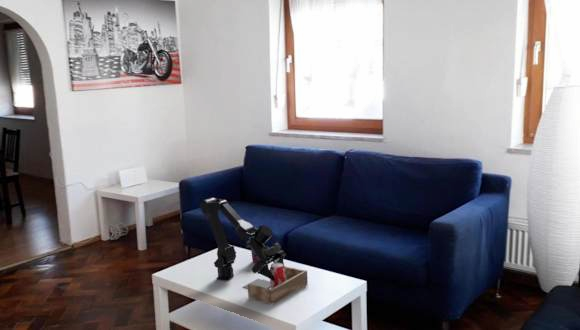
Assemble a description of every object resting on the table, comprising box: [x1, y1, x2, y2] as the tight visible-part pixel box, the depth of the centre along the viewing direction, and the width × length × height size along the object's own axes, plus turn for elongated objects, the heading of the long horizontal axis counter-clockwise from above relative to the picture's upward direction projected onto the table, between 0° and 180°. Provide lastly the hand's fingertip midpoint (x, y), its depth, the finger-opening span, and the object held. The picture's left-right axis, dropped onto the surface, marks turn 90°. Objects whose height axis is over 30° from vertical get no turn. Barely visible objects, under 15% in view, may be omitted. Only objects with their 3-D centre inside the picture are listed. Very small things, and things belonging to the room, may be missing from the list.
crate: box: [247, 265, 309, 305], centre depth 243 cm, size 13×26×6 cm, turn 144°
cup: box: [249, 236, 260, 264], centre depth 280 cm, size 7×7×15 cm
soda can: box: [269, 262, 287, 289], centre depth 242 cm, size 7×7×12 cm
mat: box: [242, 278, 271, 290], centre depth 250 cm, size 11×11×1 cm
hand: (280, 276), depth 241 cm, fingers open, 8 cm apart
